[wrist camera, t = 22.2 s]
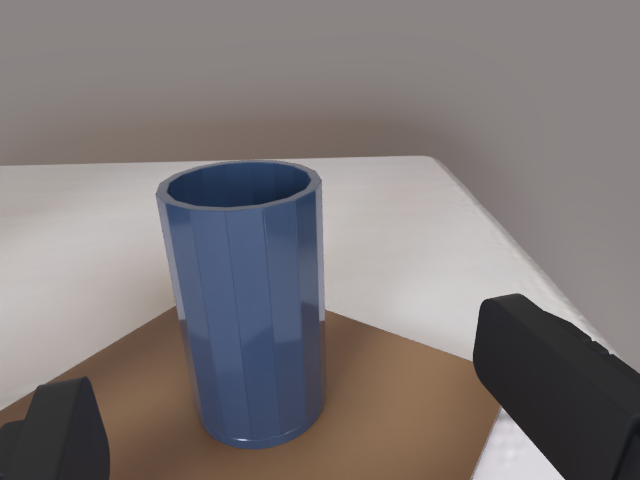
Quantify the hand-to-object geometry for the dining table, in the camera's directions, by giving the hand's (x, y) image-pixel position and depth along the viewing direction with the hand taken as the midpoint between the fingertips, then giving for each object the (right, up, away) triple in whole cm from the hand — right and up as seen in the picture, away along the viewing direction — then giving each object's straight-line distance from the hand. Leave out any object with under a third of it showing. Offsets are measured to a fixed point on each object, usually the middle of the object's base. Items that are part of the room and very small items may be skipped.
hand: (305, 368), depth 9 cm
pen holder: (-3, -5, +13) cm, 14 cm away
